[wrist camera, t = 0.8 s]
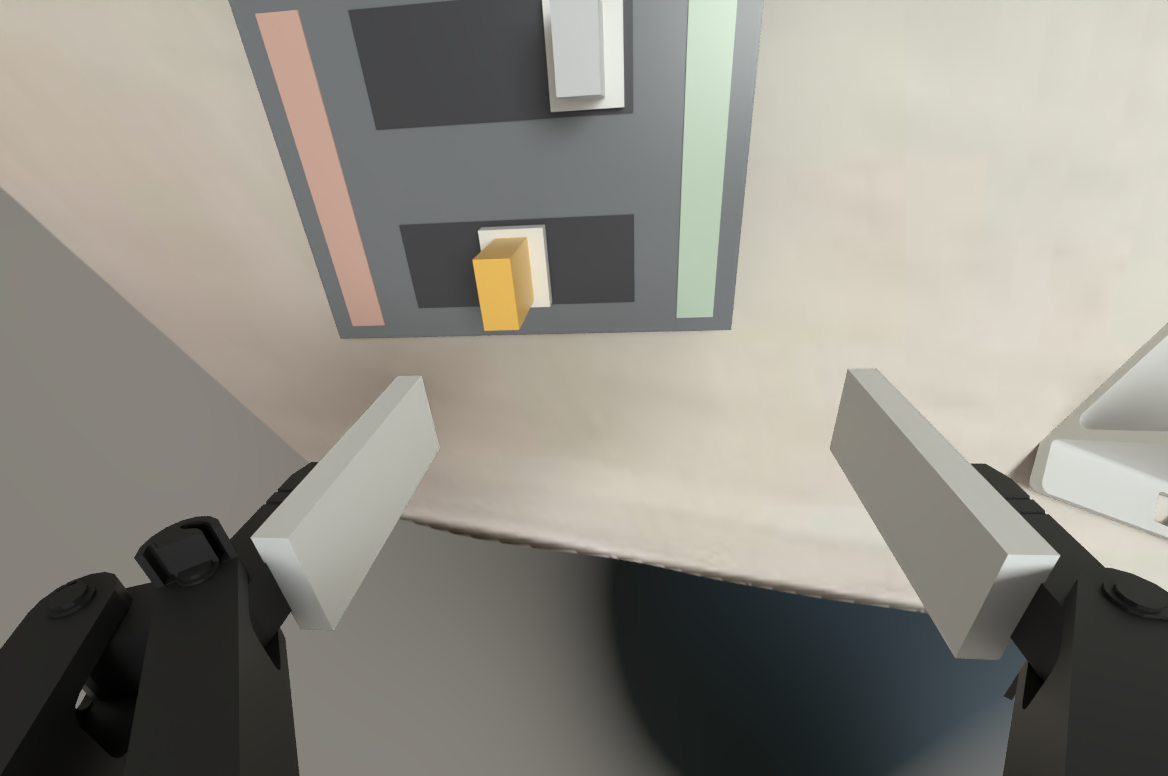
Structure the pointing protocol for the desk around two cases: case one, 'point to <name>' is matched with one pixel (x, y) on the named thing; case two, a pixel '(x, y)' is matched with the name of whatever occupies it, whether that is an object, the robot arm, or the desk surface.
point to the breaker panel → (513, 153)
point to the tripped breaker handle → (511, 274)
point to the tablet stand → (1114, 445)
